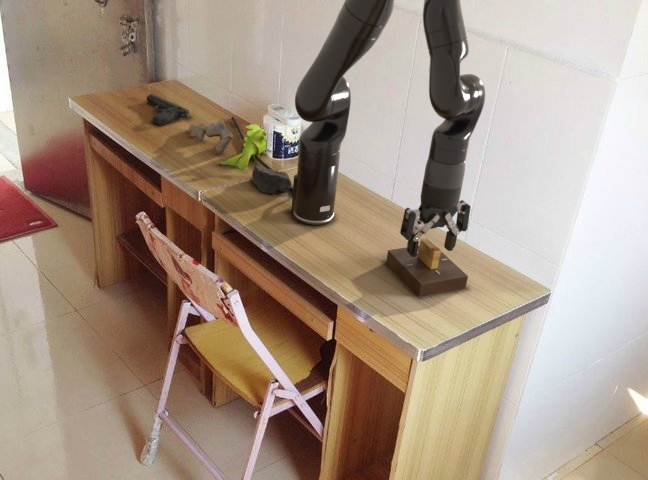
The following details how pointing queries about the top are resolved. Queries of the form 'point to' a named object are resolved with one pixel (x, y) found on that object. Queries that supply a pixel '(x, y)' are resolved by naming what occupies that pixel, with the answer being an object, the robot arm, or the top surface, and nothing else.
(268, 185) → the rock
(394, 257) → the lock plate
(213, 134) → the grey lumpy bent piece
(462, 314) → the top surface
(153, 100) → the handgun
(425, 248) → the red-tipped tan block
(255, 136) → the toy
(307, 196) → the robot arm
